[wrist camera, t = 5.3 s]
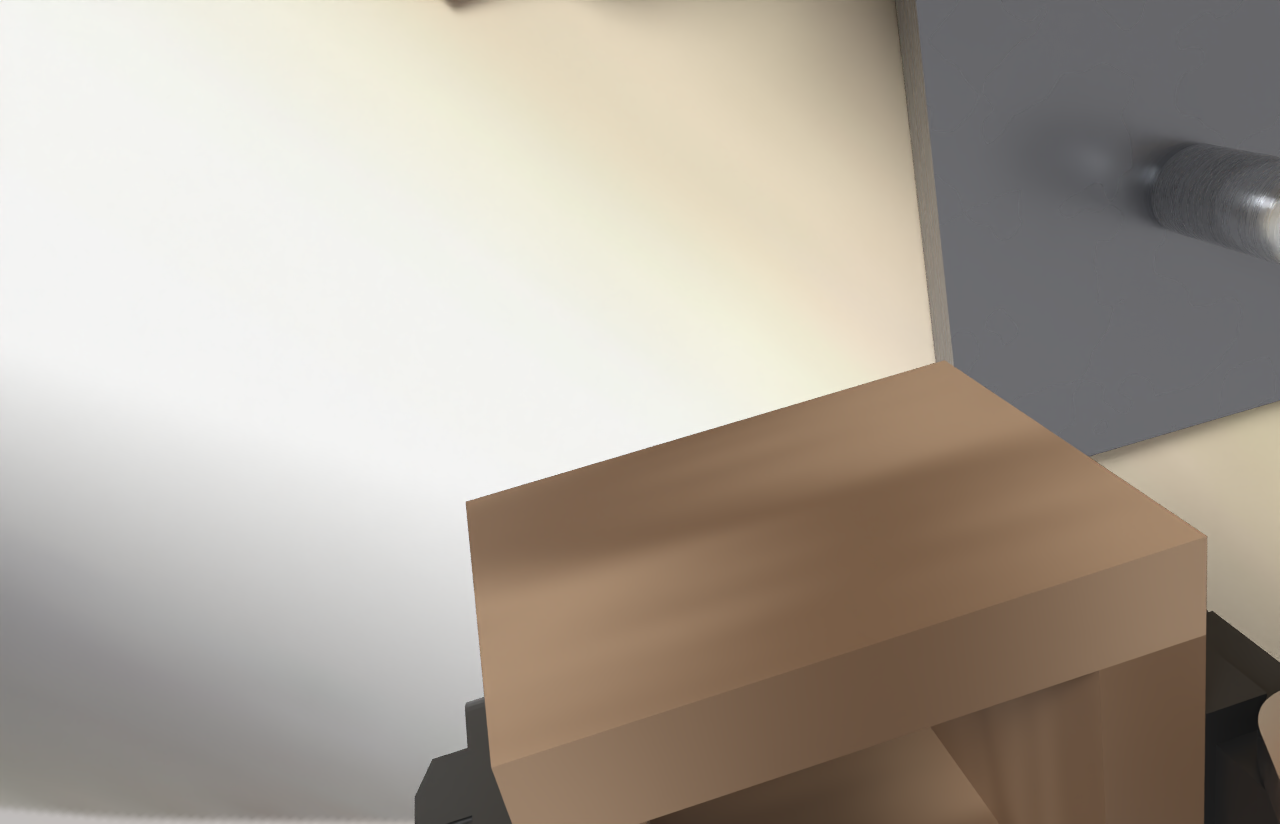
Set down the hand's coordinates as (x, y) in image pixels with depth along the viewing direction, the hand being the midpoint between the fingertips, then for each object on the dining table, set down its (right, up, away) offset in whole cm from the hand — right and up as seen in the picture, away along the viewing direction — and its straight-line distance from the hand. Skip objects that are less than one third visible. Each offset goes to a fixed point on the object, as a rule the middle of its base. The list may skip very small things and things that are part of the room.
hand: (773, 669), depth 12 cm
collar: (0, 0, +1) cm, 1 cm away
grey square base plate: (+11, +9, +11) cm, 18 cm away
